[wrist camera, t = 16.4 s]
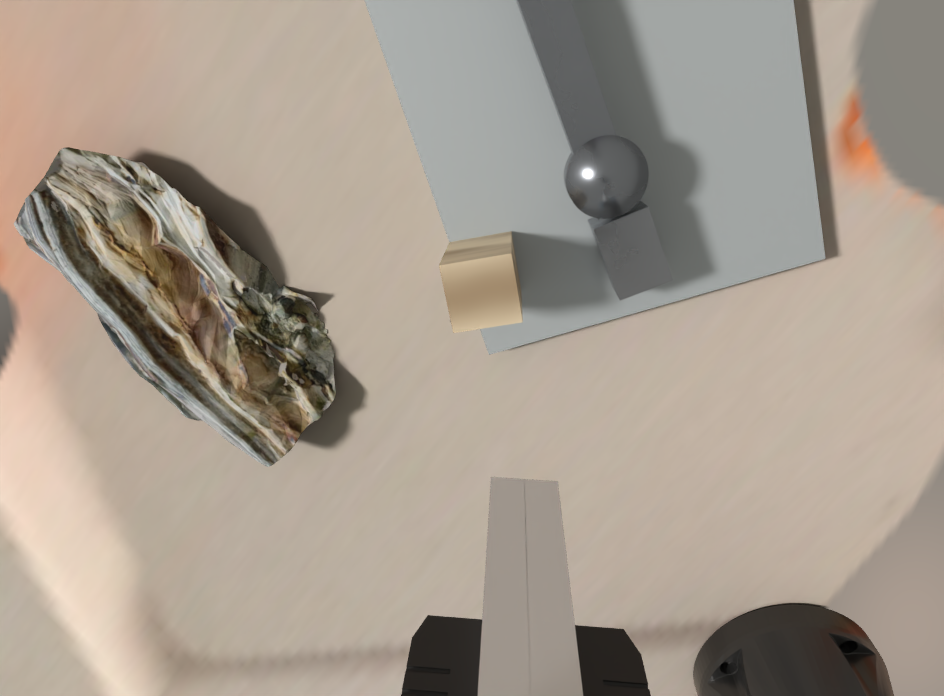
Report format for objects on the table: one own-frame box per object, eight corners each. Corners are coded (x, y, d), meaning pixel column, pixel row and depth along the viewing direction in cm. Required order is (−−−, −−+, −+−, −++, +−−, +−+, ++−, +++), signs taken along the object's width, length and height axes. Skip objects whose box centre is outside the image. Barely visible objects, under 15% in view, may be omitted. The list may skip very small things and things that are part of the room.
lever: (670, 263, 37) (746, 339, 25) (603, 290, 38) (645, 375, 26) (538, -136, 30) (556, -295, 18) (459, -91, 31) (425, -215, 19)
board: (814, 253, 38) (825, 258, 37) (489, 346, 42) (489, 354, 41) (756, -192, 30) (768, -206, 29) (360, -25, 34) (353, -31, 33)
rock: (251, 435, 50) (384, 357, 45) (216, 499, 45) (364, 417, 39) (1, 221, 41) (132, 86, 35) (-85, 266, 35) (55, 113, 29)
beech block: (521, 291, 39) (522, 322, 33) (461, 300, 39) (453, 333, 34) (511, 231, 38) (511, 253, 32) (449, 242, 38) (439, 265, 32)
